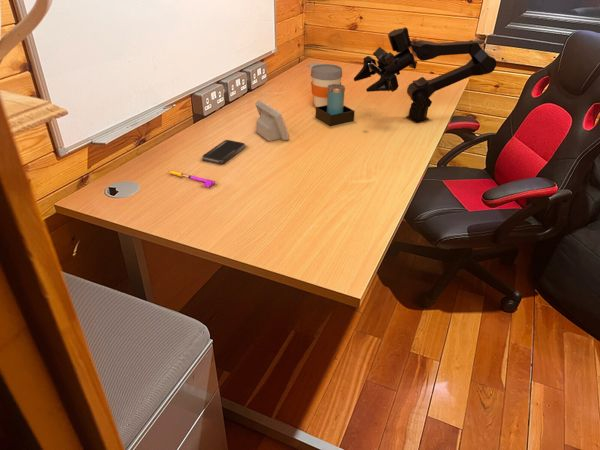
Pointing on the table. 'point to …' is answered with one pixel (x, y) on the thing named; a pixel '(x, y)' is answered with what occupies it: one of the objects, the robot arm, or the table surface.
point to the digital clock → (270, 123)
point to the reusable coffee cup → (324, 81)
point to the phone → (223, 151)
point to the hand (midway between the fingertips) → (360, 85)
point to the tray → (334, 116)
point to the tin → (335, 99)
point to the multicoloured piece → (207, 181)
